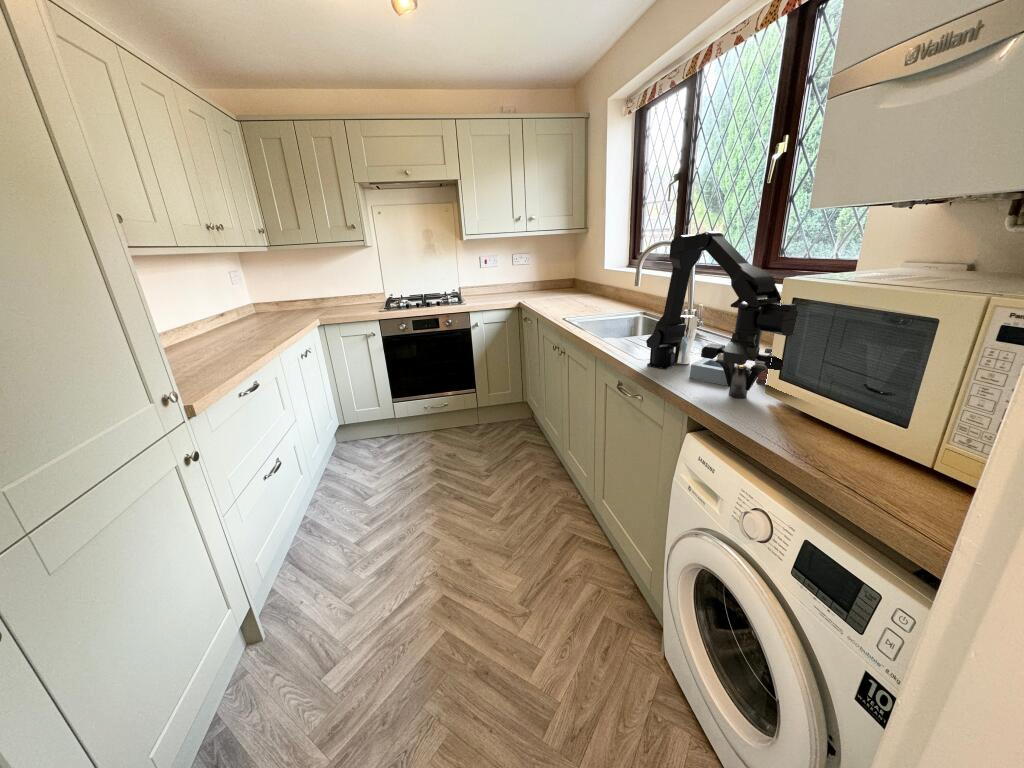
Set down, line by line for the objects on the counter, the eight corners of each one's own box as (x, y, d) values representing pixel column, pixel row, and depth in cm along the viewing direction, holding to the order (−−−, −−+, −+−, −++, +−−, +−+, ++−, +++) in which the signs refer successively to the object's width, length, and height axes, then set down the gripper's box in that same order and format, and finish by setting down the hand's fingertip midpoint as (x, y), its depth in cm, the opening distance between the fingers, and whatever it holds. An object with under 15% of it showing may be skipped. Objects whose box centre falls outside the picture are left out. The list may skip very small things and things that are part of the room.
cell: (726, 396, 101) (730, 366, 98) (731, 391, 104) (736, 362, 101) (743, 400, 98) (748, 369, 96) (748, 395, 101) (753, 365, 98)
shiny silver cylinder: (687, 360, 132) (694, 315, 128) (693, 365, 125) (701, 317, 121) (666, 359, 133) (672, 314, 129) (671, 363, 126) (678, 316, 122)
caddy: (689, 377, 115) (691, 364, 114) (703, 369, 122) (705, 357, 120) (725, 385, 108) (727, 371, 107) (738, 376, 115) (741, 363, 113)
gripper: (695, 328, 96) (688, 388, 102) (783, 339, 83) (770, 407, 89) (713, 321, 103) (706, 377, 109) (797, 330, 91) (784, 393, 96)
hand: (738, 388), depth 100 cm, fingers closed on cell, 4 cm apart
